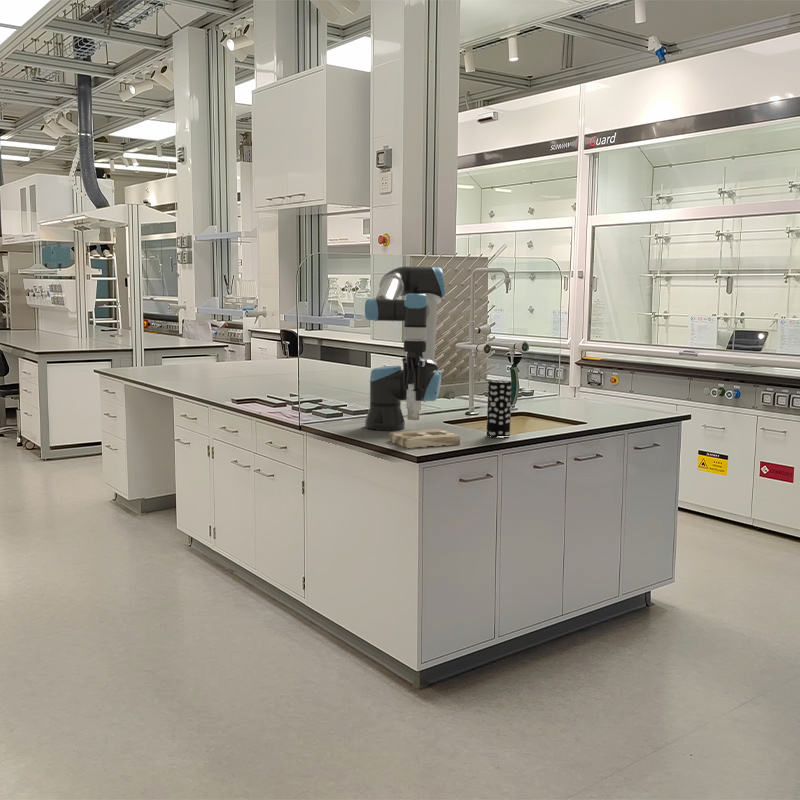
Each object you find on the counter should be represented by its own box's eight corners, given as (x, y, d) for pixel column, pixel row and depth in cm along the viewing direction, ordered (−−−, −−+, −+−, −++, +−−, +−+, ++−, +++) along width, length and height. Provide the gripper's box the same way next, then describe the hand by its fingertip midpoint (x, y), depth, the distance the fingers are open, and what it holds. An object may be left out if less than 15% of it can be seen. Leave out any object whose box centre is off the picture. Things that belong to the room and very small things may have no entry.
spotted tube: (511, 438, 283) (514, 383, 280) (488, 438, 282) (490, 382, 280) (506, 434, 291) (508, 380, 289) (484, 434, 291) (486, 380, 288)
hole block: (389, 441, 273) (389, 432, 273) (439, 437, 283) (439, 429, 282) (408, 448, 261) (408, 439, 261) (460, 444, 270) (460, 435, 270)
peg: (405, 418, 269) (406, 383, 268) (415, 418, 271) (416, 383, 270) (410, 420, 266) (411, 384, 264) (421, 419, 268) (422, 384, 266)
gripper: (437, 341, 259) (435, 412, 262) (413, 338, 274) (411, 405, 277) (417, 341, 256) (415, 413, 259) (393, 338, 271) (392, 406, 274)
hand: (413, 409), depth 268 cm, fingers closed on peg, 4 cm apart
